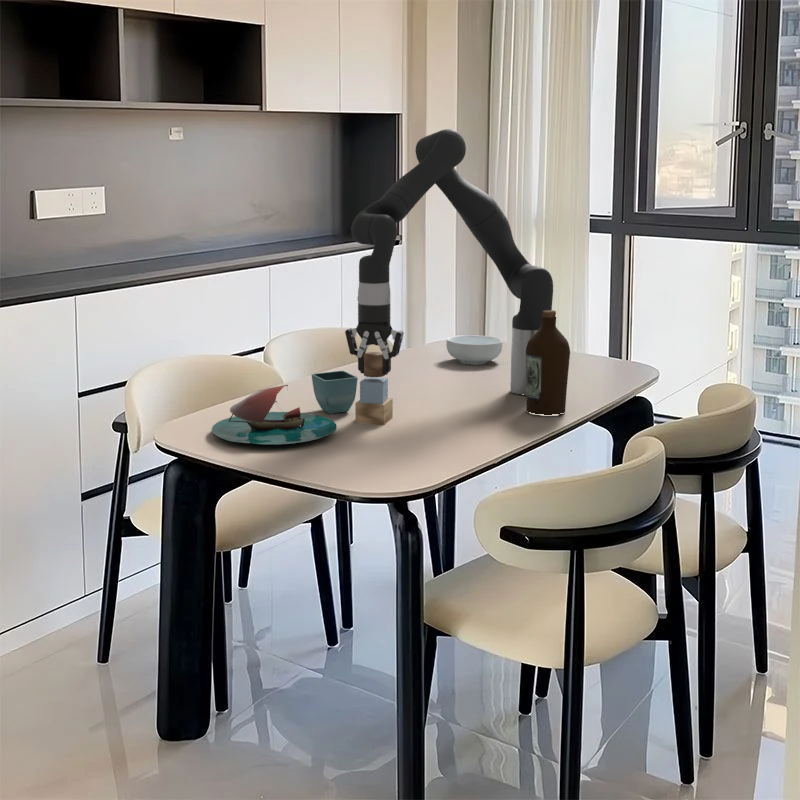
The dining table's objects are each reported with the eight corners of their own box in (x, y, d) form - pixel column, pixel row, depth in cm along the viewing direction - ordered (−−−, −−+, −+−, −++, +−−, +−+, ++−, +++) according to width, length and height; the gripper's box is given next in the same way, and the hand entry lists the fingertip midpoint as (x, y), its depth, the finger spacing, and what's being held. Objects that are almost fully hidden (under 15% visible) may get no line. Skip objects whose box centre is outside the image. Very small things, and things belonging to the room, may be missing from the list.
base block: (392, 418, 263) (392, 398, 262) (384, 425, 256) (384, 405, 255) (364, 416, 265) (364, 396, 264) (355, 423, 258) (355, 402, 257)
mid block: (387, 398, 262) (387, 378, 260) (382, 404, 256) (382, 383, 255) (365, 397, 263) (365, 377, 261) (359, 402, 257) (359, 382, 256)
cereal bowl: (504, 368, 320) (504, 344, 319) (446, 367, 321) (447, 344, 319) (499, 357, 337) (500, 334, 335) (445, 356, 337) (445, 333, 335)
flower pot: (325, 417, 264) (325, 380, 262) (311, 409, 271) (310, 373, 269) (358, 413, 268) (358, 377, 265) (343, 405, 275) (343, 370, 273)
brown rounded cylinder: (387, 373, 260) (387, 352, 259) (381, 377, 255) (381, 356, 254) (367, 372, 261) (367, 351, 260) (360, 376, 256) (360, 355, 255)
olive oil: (553, 405, 276) (556, 306, 270) (575, 415, 266) (580, 312, 260) (515, 409, 272) (518, 309, 266) (537, 419, 262) (541, 315, 256)
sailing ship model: (199, 425, 256) (197, 378, 253) (313, 414, 266) (312, 369, 264) (230, 457, 231) (228, 405, 228) (354, 443, 241) (354, 393, 239)
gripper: (408, 300, 256) (408, 372, 260) (349, 297, 259) (350, 368, 263) (399, 305, 249) (399, 378, 253) (339, 302, 252) (340, 374, 256)
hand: (374, 373), depth 258 cm, fingers closed on brown rounded cylinder, 5 cm apart
